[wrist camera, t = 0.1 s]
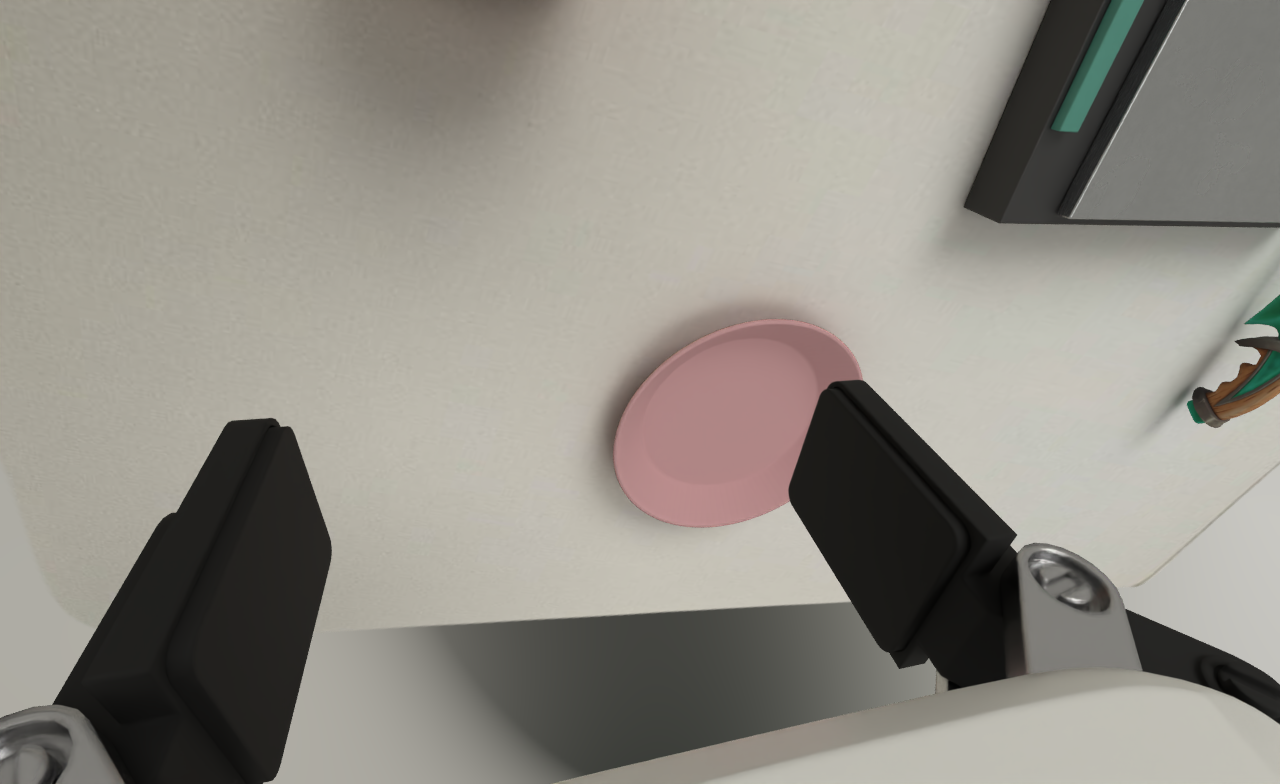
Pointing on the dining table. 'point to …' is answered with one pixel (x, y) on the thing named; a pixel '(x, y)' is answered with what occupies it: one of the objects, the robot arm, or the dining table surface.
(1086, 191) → the scale
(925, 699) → the robot arm
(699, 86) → the dining table surface
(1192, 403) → the knife
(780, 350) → the plate
